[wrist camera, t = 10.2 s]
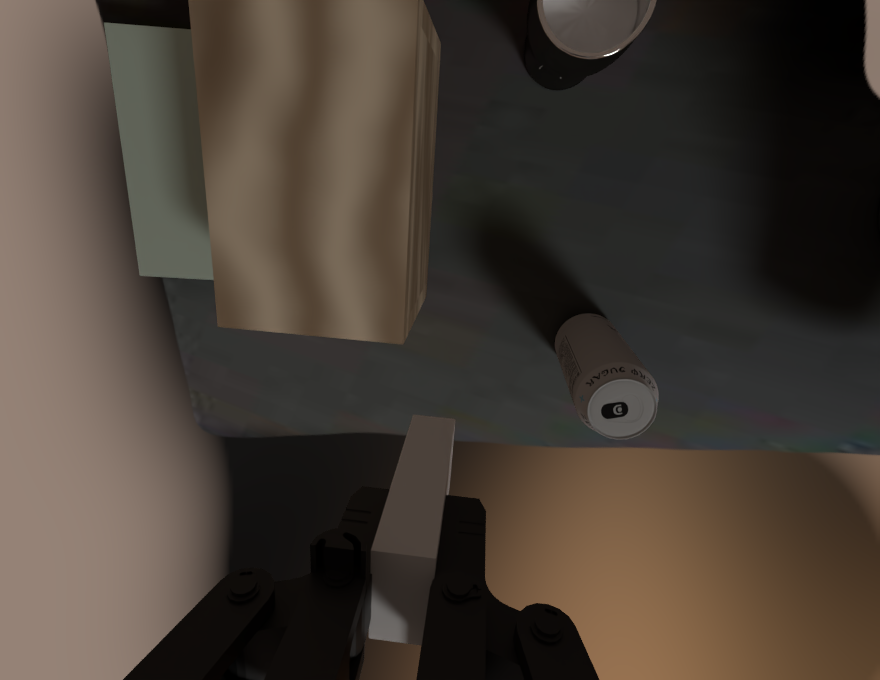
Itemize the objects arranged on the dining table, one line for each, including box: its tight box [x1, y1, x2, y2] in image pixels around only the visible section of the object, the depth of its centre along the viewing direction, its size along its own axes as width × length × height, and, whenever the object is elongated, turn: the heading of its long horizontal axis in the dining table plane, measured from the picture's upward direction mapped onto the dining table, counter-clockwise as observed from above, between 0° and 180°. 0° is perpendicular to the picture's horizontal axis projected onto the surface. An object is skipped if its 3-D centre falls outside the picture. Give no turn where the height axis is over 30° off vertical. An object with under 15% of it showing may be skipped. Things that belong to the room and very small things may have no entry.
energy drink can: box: [555, 313, 659, 439], centre depth 42 cm, size 6×6×15 cm
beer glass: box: [524, 0, 657, 90], centre depth 34 cm, size 7×7×15 cm
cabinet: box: [188, 0, 441, 344], centre depth 40 cm, size 14×22×14 cm, turn 176°
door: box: [104, 23, 214, 280], centre depth 45 cm, size 2×21×12 cm
